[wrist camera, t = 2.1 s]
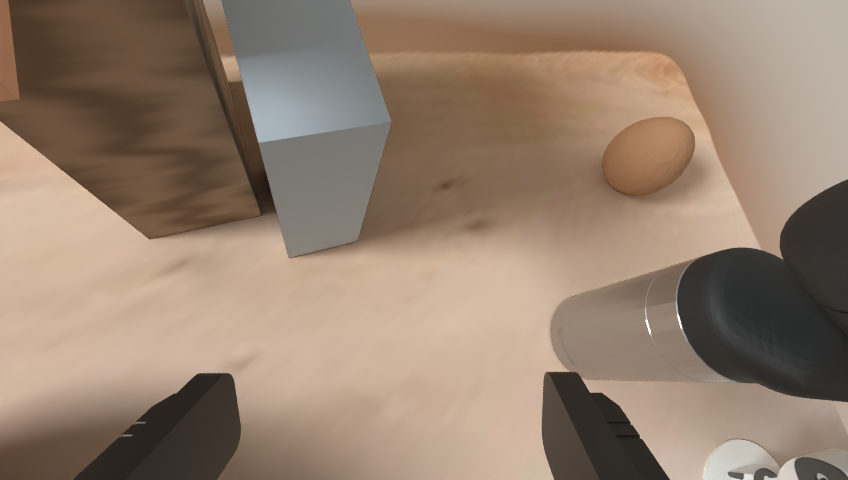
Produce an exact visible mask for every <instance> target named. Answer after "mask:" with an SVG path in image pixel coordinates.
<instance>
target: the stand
mask: <svg viewBox="0 0 848 480" xmlns="http://www.w3.org/2000/svg"><path fill="white" fill-rule="evenodd" d="M8 3H9V11H10V20H11V29H12V37H13V46H14V55H15V63H16V72H17V81H18V89H19V98H20V99H17V100H8V101H0V121H1V122H2V123H3V124H5V125H6V126H7V127H8V128H10V129H11V130H12V131H13V132H15V133H16V134H17V135H18V136H20V137H21V138H22V139H24V140H25V141H26V142H27V143H29V144H30V145H31V146H32V147H34V148H35V149H36V150H37V151H39V152H40V153H41V154H42V155H44V156H45V157H46V158H47V159H49V160H50V161H51V162H53V163H54V164H55V165H56V166H58V167H59V168H60V169H61V170H63V171H64V172H65V173H66V174H68V175H69V176H70V177H71V178H73V179H74V180H75V181H77V182H78V183H79V184H80V185H82V186H83V187H84V188H85V189H87V190H88V191H89V192H90V193H92V194H93V195H94V196H95V197H97V198H98V199H99V200H100V201H102V202H103V203H104V204H106V205H107V206H108V207H109V208H111V209H112V210H113V211H114V212H116V213H117V214H118V215H119V216H121V217H122V218H123V219H124V220H126V221H127V222H128V223H129V224H131V225H132V226H133V227H135V228H136V229H137V230H138V231H140V232H141V233H142V234H143V235H145V236H146V237H147V238H148V239H152V238H157V237H161V236H166V235H171V234H175V233H180V232H185V231H190V230H194V229H199V228H204V227H209V226H213V225H218V224H223V223H228V222H232V221H237V220H242V219H247V218H251V217H256V216H261V212H260V208H259V204H258V200H257V196H256V192H255V188H254V184H253V180H252V176H251V172H250V168H249V164H248V160H247V156H246V152H245V148H244V144H243V140H242V136H241V132H240V128H239V124H238V120H237V116H236V112H235V108H234V104H233V100H232V96H231V92H230V88H229V84H228V80H227V77H226V74H225V70H224V67H223V64H222V61H221V58H220V54H219V51H218V48H217V45H216V41H215V38H214V35H213V32H212V29H211V25H210V22H209V19H208V16H207V13H206V10H205V7H204V3H203V0H8Z"/></svg>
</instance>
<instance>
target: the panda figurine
mask: <svg viewBox="0 0 848 480" xmlns="http://www.w3.org/2000/svg"><path fill="white" fill-rule="evenodd" d="M703 480H848V451H846V450H842V449H835V448H827V449H823V450H820V451H816V452H813V453H809V454H806V455H802V456H798V457H795V458H793V459H791V460H789V461H788V462H786V463H785V464H784V465H783V466H782V467H779V466H778V464H777V463H776V462H775V460H774V459H773V458H772V457H771V456H770V455H769V454H768V453H767V452H766V451H765V450H764V449H763V448H761V447H760V446H758V445H756V444H755V443H752V442H750V441H746V440H741V439H731V440H727V441H724V442H723V443H721V444H719V445H718V446H717V447H716V448H715V449H714V450H713V451H712V453H711V454H710V456H709V457H708V459H707V462H706V465H705V468H704V473H703Z"/></svg>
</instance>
